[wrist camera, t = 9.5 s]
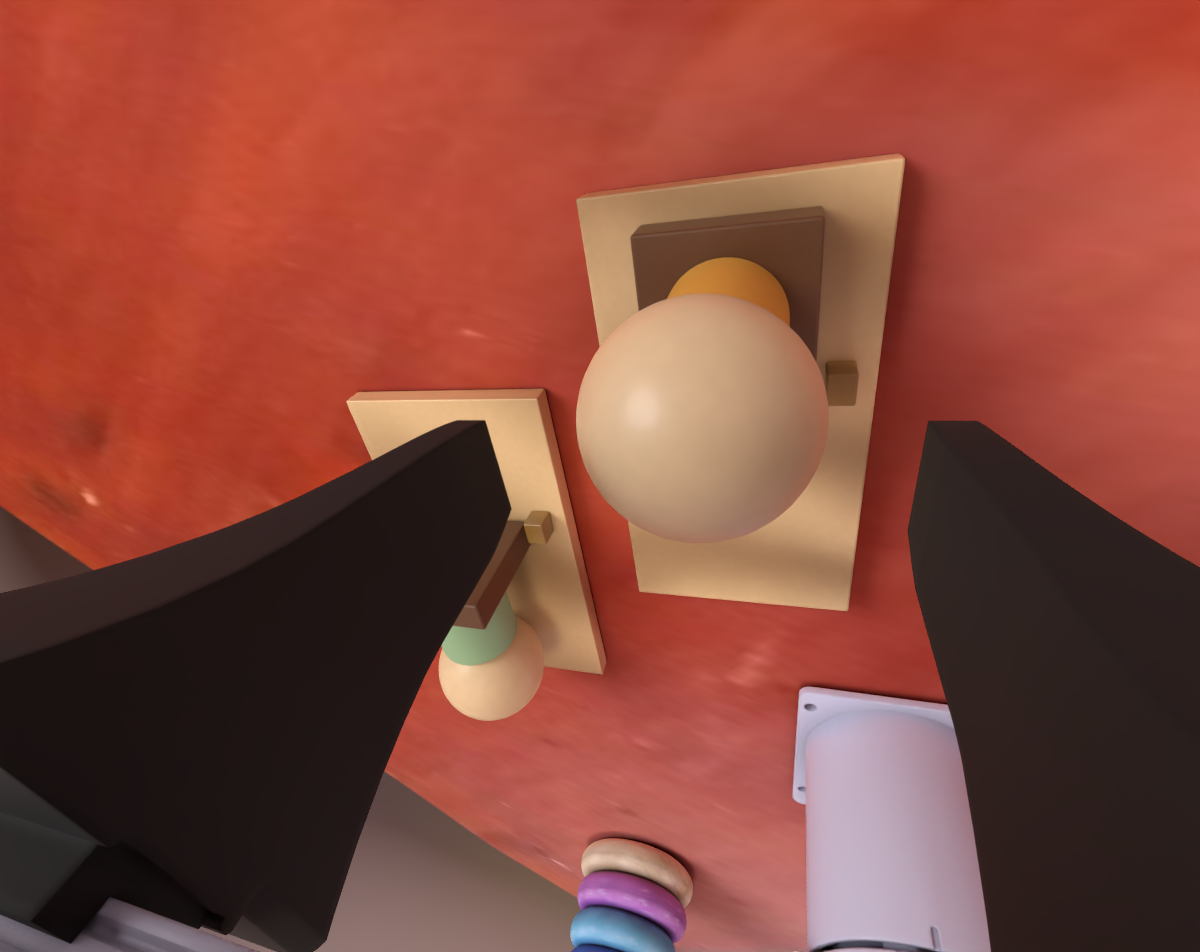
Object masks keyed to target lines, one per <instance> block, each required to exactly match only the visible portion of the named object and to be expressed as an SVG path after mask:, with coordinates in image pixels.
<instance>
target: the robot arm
mask: <svg viewBox="0 0 1200 952" xmlns="http://www.w3.org/2000/svg"><path fill="white" fill-rule="evenodd" d="M511 510H512V508H511V505H510V501H509V498H508V495H507V491H506V488H505V485H504V481H503V478H502V475H501V471H500V468H499V464H498V461H497V458H496V454H495V451H494V448H493V444H492V441H491V438H490V434H489V431H488V427H487V424H486V421H485V420H456V421H453V422H450V423H447V424H444V425H442V426H440V427H437V428H435V429H433V430H431V431H429V432H427V433H424V434H422V435H420V436H418V437H416V438H414V439H412V440H410V441H408V442H406V443H404V444H403V445H401V446H399V447H397V448H395V449H393V450H391V451H389V452H387V453H385V454H383V455H381V456H379V457H378V458H376V459H374V460H372V461H370V462H368V463H366V464H364V465H362V466H360V467H358V468H356V469H354V470H353V471H351V472H349V473H347V474H344V475H342V476H340V477H338V478H336V479H334V480H332V481H330V482H328V483H326V484H324V485H322V486H320V487H318V488H316V489H314V490H312V491H310V492H308V493H306V494H304V495H301V496H299V497H297V498H295V499H293V500H291V501H289V502H286V503H284V504H282V505H280V506H277V507H275V508H273V509H270V510H268V511H266V512H264V513H261V514H259V515H256V516H254V517H251V518H249V519H246V520H244V521H241V522H239V523H236V524H234V525H231V526H229V527H226V528H223V529H221V530H218V531H215V532H213V533H210V534H207V535H204V536H201V537H198V538H195V539H192V540H189V541H186V542H183V543H180V544H177V545H174V546H172V547H169V548H166V549H163V550H160V551H157V552H154V553H151V554H148V555H145V556H142V557H138V558H135V559H132V560H128V561H125V562H121V563H118V564H114V565H111V566H108V567H104V568H101V569H97V570H93V571H90V572H86V573H83V574H78V575H75V576H71V577H67V578H63V579H60V580H56V581H51V582H48V583H43V584H39V585H35V586H32V587H27V588H22V589H18V590H13V591H8V592H4V593H0V952H258V951H255V950H253V949H250V948H247V947H245V946H242V945H239V944H236V943H234V942H231V941H228V940H226V939H223V938H220V937H217V936H215V935H212V934H209V933H207V932H204V931H201V930H199V928H200V927H201V926H202V927H204V928H207V929H210V930H213V931H215V932H218V933H221V934H224V935H227V934H230V935H233V936H236V937H238V938H241V939H244V940H246V941H249V942H252V943H255V944H257V945H260V946H263V947H266V948H268V949H271V950H274V951H277V952H313V951H315V950H317V949H318V948H319V947H320V946H321V945H322V944H323V943H324V942H325V941H326V940H327V936H328V933H329V930H330V926H331V923H332V920H333V916H334V913H335V910H336V907H337V904H338V901H339V898H340V895H341V892H342V889H343V885H344V882H345V879H346V876H347V873H348V870H349V867H350V864H351V861H352V858H353V855H354V852H355V848H356V845H357V843H358V840H359V837H360V834H361V831H362V829H363V826H364V823H365V821H366V818H367V815H368V813H369V810H370V807H371V804H372V802H373V799H374V796H375V794H376V791H377V788H378V785H379V783H380V780H381V777H382V775H383V772H384V770H385V768H386V765H387V763H388V760H389V758H390V755H391V753H392V751H393V748H394V746H395V743H396V741H397V738H398V736H399V733H400V731H401V729H402V726H403V724H404V721H405V719H406V717H407V715H408V713H409V710H410V708H411V706H412V704H413V701H414V699H415V697H416V695H417V693H418V690H419V688H420V686H421V684H422V681H423V679H424V677H425V675H426V673H427V671H428V669H429V667H430V665H431V663H432V661H433V660H434V658H435V656H436V654H437V652H438V650H439V648H440V647H441V645H442V643H443V642H444V640H445V638H446V637H447V635H448V633H449V631H450V630H451V628H452V626H453V625H454V623H455V621H456V619H457V618H458V616H459V614H460V613H461V611H462V609H463V607H464V606H465V604H466V602H467V601H468V599H469V597H470V596H471V594H472V592H473V590H474V589H475V587H476V585H477V583H478V582H479V580H480V578H481V576H482V575H483V573H484V571H485V569H486V568H487V566H488V564H489V562H490V560H491V559H492V557H493V555H494V553H495V551H496V548H497V546H498V544H499V541H500V539H501V536H502V534H503V531H504V529H505V526H506V523H507V520H508V518H509V515H510V512H511ZM908 536H909V545H910V553H911V562H912V569H913V576H914V583H915V589H916V593H917V597H918V600H919V604H920V608H921V611H922V615H923V619H924V622H925V626H926V629H927V633H928V637H929V640H930V644H931V647H932V651H933V654H934V658H935V661H936V665H937V668H938V672H939V676H940V679H941V683H942V686H943V690H944V693H945V697H946V700H947V704H948V705H946V704H939V703H931V702H924V701H916V700H909V699H901V698H894V697H886V696H879V695H871V694H864V693H856V692H849V691H841V690H834V689H826V688H819V687H809V686H807V687H803V688H802V689H800V691H799V700H798V716H797V731H796V746H795V761H794V777H793V799H794V800H795V801H797V802H798V803H802V804H806V866H807V952H1200V567H1198V566H1196V565H1195V564H1193V563H1191V562H1189V561H1188V560H1186V559H1184V558H1182V557H1181V556H1179V555H1177V554H1175V553H1174V552H1172V551H1170V550H1169V549H1167V548H1166V547H1164V546H1162V545H1161V544H1159V543H1157V542H1156V541H1154V540H1153V539H1151V538H1149V537H1148V536H1146V535H1144V534H1143V533H1141V532H1139V531H1138V530H1136V529H1135V528H1133V527H1131V526H1130V525H1128V524H1126V523H1125V522H1123V521H1122V520H1120V519H1119V518H1117V517H1115V516H1114V515H1112V514H1111V513H1109V512H1108V511H1106V510H1105V509H1103V508H1102V507H1100V506H1099V505H1097V504H1096V503H1094V502H1093V501H1091V500H1090V499H1088V498H1087V497H1085V496H1084V495H1082V494H1081V493H1079V492H1078V491H1076V490H1075V489H1074V488H1072V487H1071V486H1069V485H1068V484H1066V483H1065V482H1063V481H1062V480H1061V479H1059V478H1058V477H1056V476H1055V475H1053V474H1052V473H1051V472H1049V471H1048V470H1046V469H1045V468H1044V467H1042V466H1041V465H1039V464H1038V463H1037V462H1035V461H1034V460H1033V459H1031V458H1030V457H1028V456H1027V455H1026V454H1024V453H1023V452H1022V451H1020V450H1019V449H1017V448H1016V447H1015V446H1013V445H1012V444H1010V443H1009V442H1008V441H1006V440H1005V439H1003V438H1002V437H1001V436H999V435H998V434H996V433H995V432H994V431H992V430H991V429H989V428H988V427H986V426H985V425H983V424H981V423H980V422H978V421H928V426H927V431H926V436H925V442H924V447H923V452H922V457H921V463H920V468H919V473H918V479H917V484H916V489H915V495H914V500H913V505H912V511H911V516H910V521H909V527H908ZM794 952H801V951H794Z"/></svg>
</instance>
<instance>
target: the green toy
mask: <svg viewBox="0 0 1200 952" xmlns="http://www.w3.org/2000/svg"><path fill="white" fill-rule="evenodd" d="M524 523H525V522H518V521H507V523H506V526H505V529H504V531H503V534H502V536H501V539H500V541H499V544H498V546H497V548H496V551H495V553H494V555H493V557H492V559H491V560H490V562H489V564H488V566H487V568H486V569H485V571H484V573H483V575H482V576H481V578H480V580H479V582H478V583H477V585H476V587H475V589H474V590H473V592H472V594H471V596H470V597H469V599H468V601H467V602H466V604H465V606H464V607H463V609H462V611H461V613H460V614H459V616H458V618H457V619H456V621H455V623H454V625H453V626H452V628H451V630H450V631H449V633H448V635H447V637H446V638H445V640H444V642H443V643H442V645H441V646H442V648H443V649H442V652H441V655H440V660H439V678H440V683H441V686H442V689H443V691H444V693H445V695H446V697H447V699H448V700H449V701H450V703H451V704H452V705H453V706H454V707H455V708H456V709H457V710H459V711H460V712H461V713H463V714H465V715H467V716H469V717H471V718H474V719H478V720H485V721H492V720H499V719H503V718H506V717H509V716H511V715H513V714H515V713H517V712H518V711H520V710H521V709H522V708H523V707H525V706H526V705H527V704H528V703H529V702H530V700H531V699H532V698H533V697H534V695H535V694H536V692H537V690H538V688H539V686H540V684H541V681H542V678H543V672H544V653H543V648H542V645H541V642H540V640H539V638H538V636H537V635H536V633H535V632H534V630H533V629H532V628H531V627H530V626H529V625H528V624H527V623H526V622H525V621H523V620H522V619H520V618H519V617H517V616H515V615H514V612H513V609H512V606H511V603H510V601H509V598H508V595H507V592H506V590H507V588H508V586H509V584H510V582H511V580H512V579H513V577H514V575H515V573H516V571H517V569H518V567H519V566H520V564H521V562H522V560H523V558H524V556H525V554H526V553H527V551H528V549H529V547H530V545H531V544H530V543H529V542H528V539H527V536H526V532H525V529H524Z"/></svg>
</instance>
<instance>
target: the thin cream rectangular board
mask: <svg viewBox="0 0 1200 952" xmlns="http://www.w3.org/2000/svg"><path fill="white" fill-rule="evenodd" d="M346 402H347V405H348V407H349V409H350V411H351V414H352V416H353V418H354V420H355V423H356V425H357V427H358V429H359V432H360V434H361V436H362V438H363V441H364V443H365V445H366V447H367V450H368V452H369V454H370V456H371V459H372V460H374V459H376V458H378V457H379V456H381V455H383V454H385V453H387V452H389V451H391V450H393V449H395V448H397V447H399V446H401V445H403V444H404V443H406V442H408V441H410V440H412V439H414V438H416V437H418V436H420V435H422V434H424V433H427V432H429V431H431V430H433V429H435V428H437V427H440V426H442V425H444V424H447V423H450V422H453V421H456V420H485V421H486V424H487V427H488V431H489V434H490V438H491V441H492V444H493V448H494V451H495V454H496V458H497V461H498V464H499V468H500V471H501V475H502V478H503V481H504V485H505V488H506V491H507V495H508V498H509V501H510V505H511V508H512V510H511V512H510V515H509V518H508V520H507V521H518V522H525V523H524V529H525V532H526V536H527V539H528V542H529V543H530V544H531V545H530V547H529V549H528V551H527V553H526V554H525V556H524V558H523V560H522V562H521V564H520V566H519V567H518V569H517V571H516V573H515V575H514V577H513V579H512V580H511V582H510V584H509V586H508V588H507V590H506V592H507V595H508V598H509V601H510V603H511V606H512V609H513V612H514V615H515V616H517V617H519V618H520V619H522V620H523V621H525V622H526V623H527V624H528V625H529V626H530V627H531V628H532V629H533V630H534V632H535V633H536V635H537V636H538V638H539V640H540V642H541V645H542V648H543V653H544V666H546V667H553V668H560V669H567V670H574V671H581V672H588V673H595V674H603V672H604V668H605V665H606V662H607V661H606V657H605V652H604V648H603V643H602V639H601V635H600V630H599V626H598V621H597V617H596V613H595V608H594V604H593V599H592V595H591V591H590V586H589V582H588V577H587V573H586V569H585V564H584V560H583V555H582V551H581V547H580V542H579V538H578V533H577V529H576V524H575V520H574V516H573V511H572V507H571V502H570V498H569V494H568V489H567V485H566V480H565V476H564V472H563V467H562V463H561V458H560V454H559V450H558V445H557V441H556V436H555V432H554V428H553V423H552V419H551V414H550V410H549V406H548V401H547V397H546V392H545V389H500V390H444V391H387V392H357V393H356V394H355V395H353V396H352V397H351V398H350V399H348V400H347V401H346Z"/></svg>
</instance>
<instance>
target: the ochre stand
mask: <svg viewBox="0 0 1200 952" xmlns="http://www.w3.org/2000/svg"><path fill="white" fill-rule="evenodd" d="M904 166H905V158H904V157H903V156H902V155H901V154H899V153H897V154H890V155H882V156H874V157H866V158H858V159H850V160H843V161H835V162H827V163H819V164H811V165H803V166H795V167H788V168H780V169H772V170H764V171H756V172H748V173H740V174H733V175H725V176H717V177H709V178H701V179H693V180H685V181H678V182H670V183H662V184H654V185H646V186H638V187H630V188H623V189H615V190H607V191H599V192H591V193H585V194H583V195H582V196H580V197H579V198H577V200H576V202H577V208H578V215H579V221H580V227H581V233H582V239H583V246H584V252H585V258H586V264H587V270H588V277H589V283H590V289H591V295H592V302H593V308H594V314H595V320H596V326H597V333H598V339H599V345H600V346H601V345H602V343H603V342H604V341H605V340H606V338H607V337H608V336H609V335H610V334H611V333H612V332H613V331H614V330H615V329H616V328H617V327H618V326H619V325H620V324H622V323H623V322H624V321H626V320H627V319H628V318H629V317H631V316H632V315H634V314H635V313H637V312H639V310H638V302H637V293H636V285H635V276H634V267H633V259H632V250H631V242H630V237H631V235H632V234H633V233H634V232H635V231H636V229H637V228H638V227H639V226H641V225H646V224H655V223H665V222H674V221H683V220H693V219H702V218H712V217H721V216H731V215H740V214H749V213H759V212H768V211H778V210H787V209H797V208H806V207H815V206H822V207H823V209H824V214H825V231H824V248H823V264H822V280H821V297H820V313H819V329H818V346H817V362H816V363H817V365H818V367H819V369H820V372H821V375H822V378H823V381H824V385H825V389H826V394H827V400H828V433H827V439H826V445H825V448H824V451H823V454H822V457H821V460H820V463H819V466H818V468H817V470H816V472H815V474H814V476H813V477H812V479H811V481H810V483H809V484H808V486H807V488H806V489H805V490H804V491H803V493H802V494H801V495H800V497H799V498H798V499H797V500H796V501H795V502H794V503H793V505H792V506H791V507H789V508H788V509H787V510H786V511H785V512H784V513H783V514H781V515H780V516H779V517H778V518H776V519H775V520H774V521H772V522H770V523H769V524H767V525H766V526H764V527H762V528H760V529H758V530H756V531H754V532H752V533H750V534H748V535H745V536H742V537H739V538H735V539H731V540H727V541H721V542H715V543H686V542H678V541H673V540H668V539H665V538H662V537H659V536H656V535H654V534H652V533H649V532H647V531H645V530H643V529H641V528H639V527H637V526H635V525H634V524H632V523H631V522H629V521H628V525H629V531H630V537H631V544H632V550H633V556H634V562H635V569H636V575H637V581H638V587H639V591H640V592H648V593H658V594H669V595H680V596H690V597H701V598H712V599H722V600H733V601H744V602H754V603H765V604H775V605H786V606H797V607H807V608H818V609H829V610H839V611H848V608H849V600H850V592H851V584H852V576H853V568H854V561H855V553H856V545H857V537H858V529H859V521H860V513H861V505H862V497H863V490H864V482H865V474H866V466H867V458H868V450H869V442H870V434H871V426H872V419H873V411H874V403H875V395H876V387H877V379H878V371H879V363H880V355H881V348H882V340H883V332H884V324H885V316H886V308H887V300H888V292H889V285H890V277H891V269H892V261H893V253H894V245H895V237H896V229H897V221H898V214H899V206H900V198H901V190H902V182H903V174H904Z"/></svg>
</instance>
